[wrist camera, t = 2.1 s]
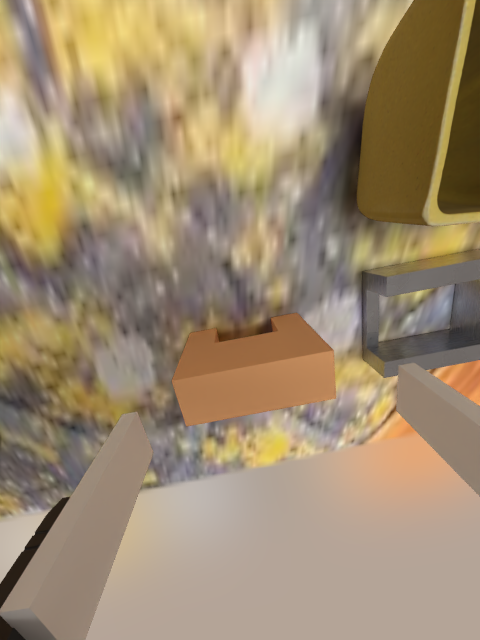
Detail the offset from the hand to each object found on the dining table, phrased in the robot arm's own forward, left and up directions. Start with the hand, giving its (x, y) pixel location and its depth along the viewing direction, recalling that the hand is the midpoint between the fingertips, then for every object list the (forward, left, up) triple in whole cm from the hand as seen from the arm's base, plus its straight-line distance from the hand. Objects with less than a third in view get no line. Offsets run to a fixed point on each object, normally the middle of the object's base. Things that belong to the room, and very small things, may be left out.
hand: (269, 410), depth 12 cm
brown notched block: (0, 0, -9) cm, 9 cm away
